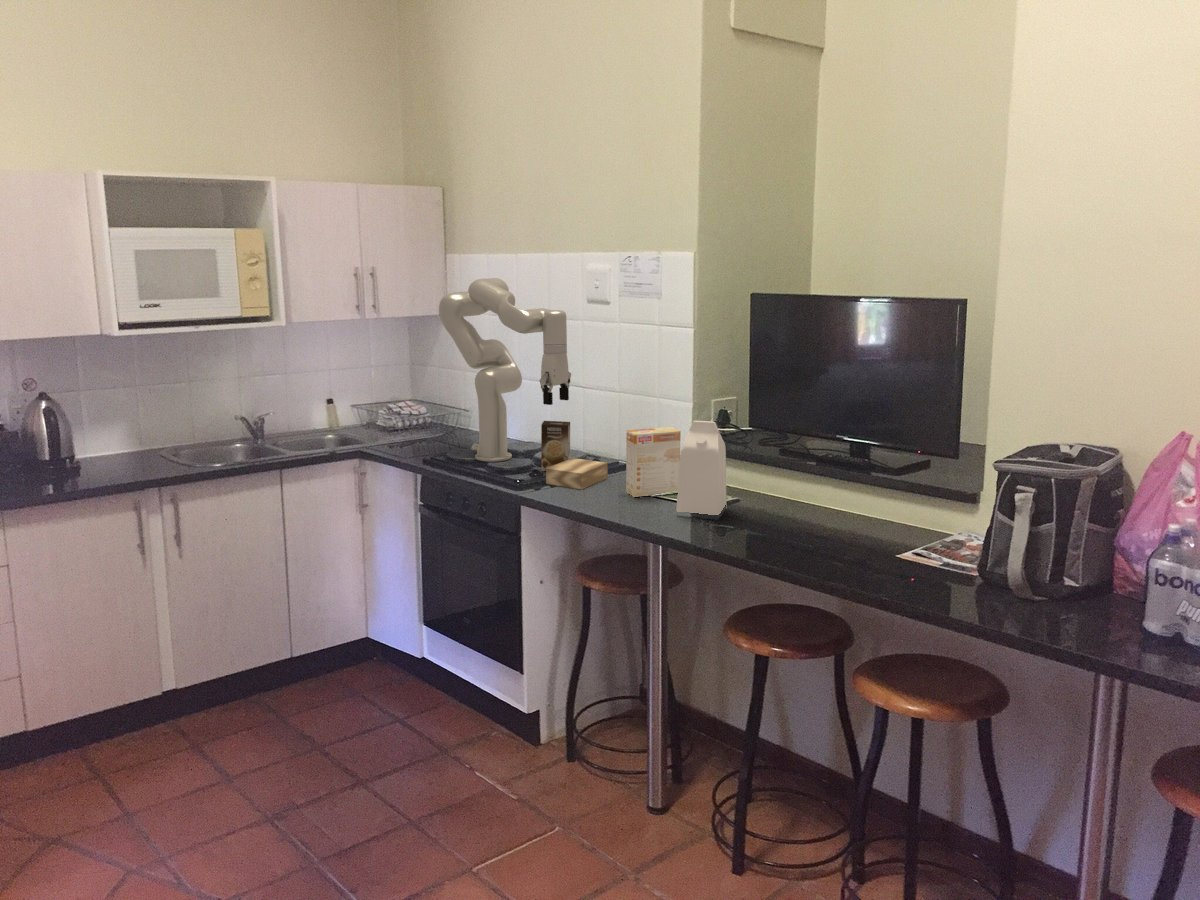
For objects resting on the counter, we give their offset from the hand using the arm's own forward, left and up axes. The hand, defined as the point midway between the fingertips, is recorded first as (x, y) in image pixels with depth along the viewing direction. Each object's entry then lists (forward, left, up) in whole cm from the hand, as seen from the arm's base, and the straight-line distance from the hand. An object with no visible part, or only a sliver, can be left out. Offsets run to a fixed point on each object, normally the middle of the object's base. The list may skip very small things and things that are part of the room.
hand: (556, 402), depth 312 cm
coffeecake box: (+40, -9, -23) cm, 47 cm away
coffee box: (0, 0, -23) cm, 23 cm away
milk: (+61, -20, -23) cm, 68 cm away
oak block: (+13, -8, -23) cm, 27 cm away
